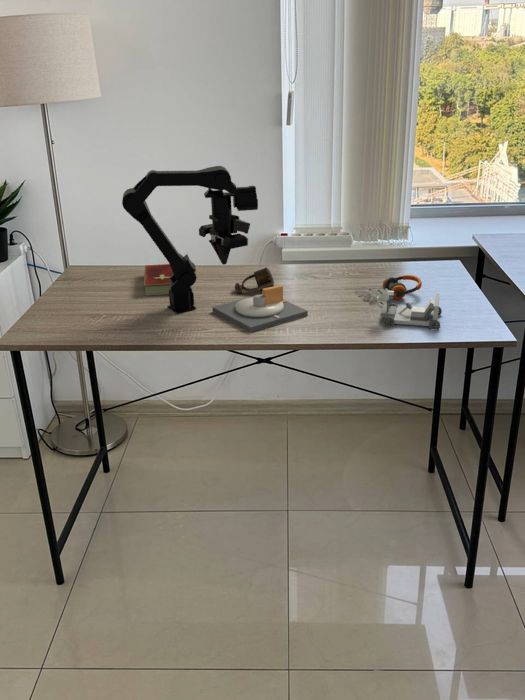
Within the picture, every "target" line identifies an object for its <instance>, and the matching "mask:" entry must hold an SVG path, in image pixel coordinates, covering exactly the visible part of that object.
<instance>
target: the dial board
mask: <svg viewBox="0 0 525 700" xmlns="http://www.w3.org/2000/svg"><path fill="white" fill-rule="evenodd" d="M258 295H262V293H260V294H258ZM253 296H254V295H252V296H248V297H245V298H242V299H237V300H234V301H229V302H227V303H223V304H219V305H215V306H214V305H213V306H212V313H215V314H216V315H218V316H220V317H221V318H224V319H225V320H227V321H229V322H231V323H233V324H235V325H237V326H238V327H240V328H242V329H244V330H245V331H248V332H250V333H253V332H257V331H261V330H264V329H267V328H271V327H274V326H276V325H277V326H278V325H280V324H283V323H287V322H291V321H295V320H298V319H301V318H304V317H308V315H309V313H308V312H309V311H308V310H307V309H305V308H302V307H300V306H299V305H296V304H295V303H292V302H289V301H288V300H285V299H283V301H282V302H283V307H284V308H283V310H282V311H281V312H280V313H278V314H276V315H272V316H267V317H249V316H244V315H241V314H239V313H238V312H237V311H236V303H237V302H239V301H240V300H243V299H246V298H251V297H253Z"/></svg>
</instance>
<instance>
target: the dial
mask: <svg viewBox="0 0 525 700" xmlns="http://www.w3.org/2000/svg"><path fill="white" fill-rule="evenodd" d="M261 294H262V295H259V294H255V295H252V296H253V297H252V296H250V297H251V298H248V297H245V298H246V299H244V298H242V299H243V300H241V299H239V300H240V301H239V302H237V303H236V311H237V312H238V313H239V314H241V315H244V316H249V317H267V316H272V315H276V314H278V313H280V312H281V311H282V310H283V308H284V307H283V302H282V301H283V300H284V287H283V285H281V284H279V285H274V286H273V287H268V288H263V289H262V291H261Z"/></svg>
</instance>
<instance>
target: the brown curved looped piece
mask: <svg viewBox="0 0 525 700" xmlns="http://www.w3.org/2000/svg"><path fill="white" fill-rule="evenodd" d="M253 278H255V281H256V285H257V287H253V288H248V287H245V283H246V282H247V281H248V280H250V279H253ZM273 286H275V281H274V277H273V275H272V273H271V270H270V269H269V268H268V267H264V268H261V269H259V270H256V271H253V274H251V275H249V276H247V277H245V278H244V279H243V280H242V282H241V284H240V283H239V282H237V283H235V284H234V290H235V291H236V292H237V294H240V295H241V294H243V292H244V291H246V292H257V291H261V292H262V289H263V288H268V287H273Z"/></svg>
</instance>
